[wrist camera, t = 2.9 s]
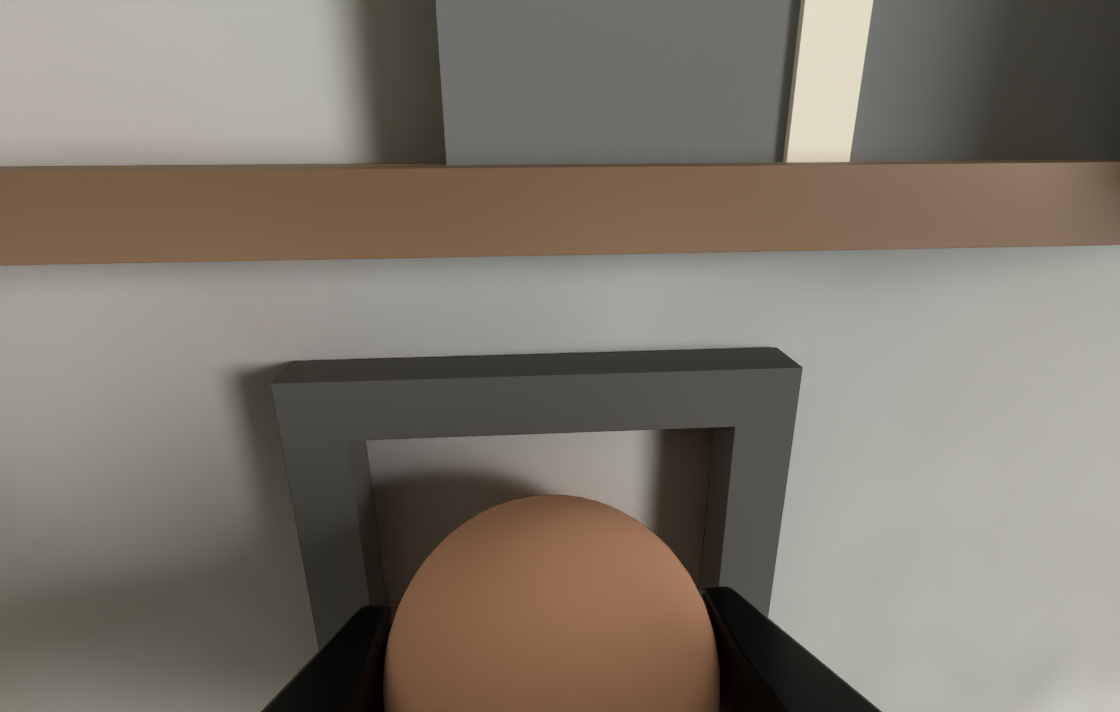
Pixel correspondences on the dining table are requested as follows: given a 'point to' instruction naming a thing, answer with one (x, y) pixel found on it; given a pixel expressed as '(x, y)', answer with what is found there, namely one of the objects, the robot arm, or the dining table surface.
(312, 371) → the grey square frame
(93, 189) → the walnut lane
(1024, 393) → the dining table surface
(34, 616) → the dining table surface
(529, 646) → the ball
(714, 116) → the runway mat
